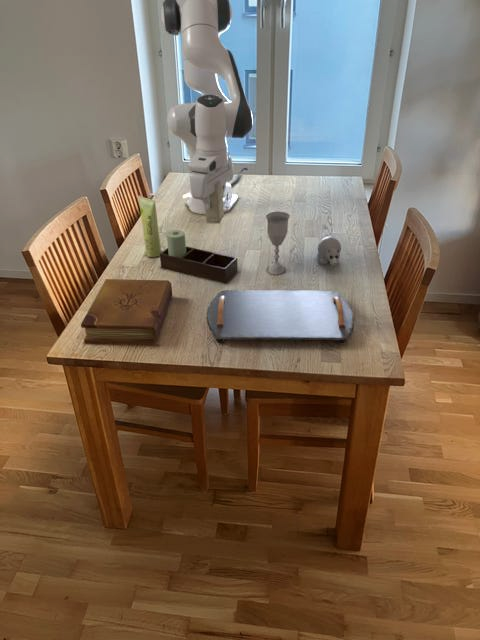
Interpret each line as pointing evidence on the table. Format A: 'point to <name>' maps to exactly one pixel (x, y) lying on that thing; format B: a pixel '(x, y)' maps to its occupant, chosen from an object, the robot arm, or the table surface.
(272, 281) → the table surface
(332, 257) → the round bodied animal figurine
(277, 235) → the chalice
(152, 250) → the tube
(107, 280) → the diary
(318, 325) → the serving tray
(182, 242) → the towel roll
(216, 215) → the cosmetic box
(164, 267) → the rack
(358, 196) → the table surface
